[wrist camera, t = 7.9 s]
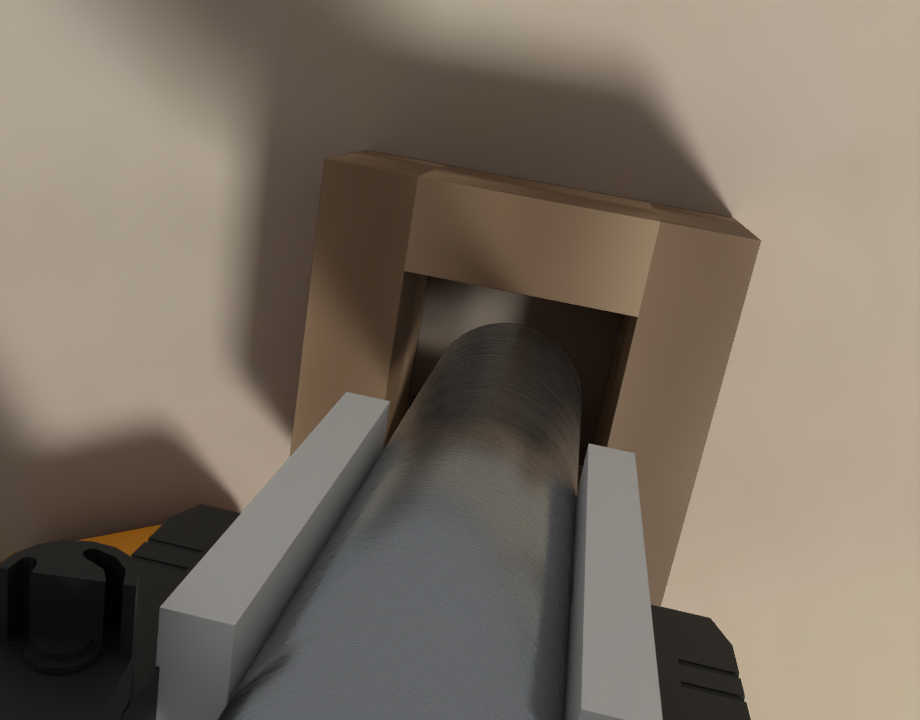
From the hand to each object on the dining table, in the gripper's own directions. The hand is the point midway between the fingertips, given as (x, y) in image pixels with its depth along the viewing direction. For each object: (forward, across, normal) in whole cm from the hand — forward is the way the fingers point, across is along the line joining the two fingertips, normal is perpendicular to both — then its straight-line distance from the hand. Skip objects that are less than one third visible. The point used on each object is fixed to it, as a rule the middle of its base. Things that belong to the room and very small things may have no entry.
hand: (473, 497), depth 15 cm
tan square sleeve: (+8, 0, 0) cm, 8 cm away
